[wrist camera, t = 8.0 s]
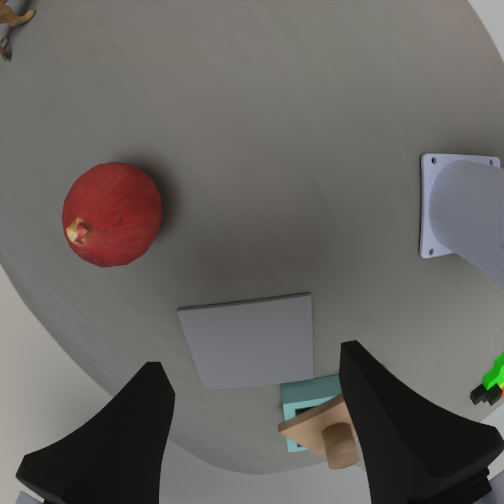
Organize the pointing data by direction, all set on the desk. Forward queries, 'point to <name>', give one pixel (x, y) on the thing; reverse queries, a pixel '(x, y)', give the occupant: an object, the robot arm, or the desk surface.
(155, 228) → the pomegranate
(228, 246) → the desk surface
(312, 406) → the dish
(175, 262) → the desk surface
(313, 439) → the lid
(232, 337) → the mat
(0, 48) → the lion figurine
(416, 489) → the robot arm
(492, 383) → the building blocks
